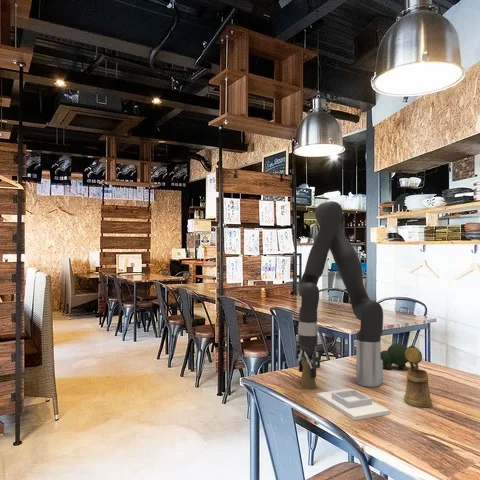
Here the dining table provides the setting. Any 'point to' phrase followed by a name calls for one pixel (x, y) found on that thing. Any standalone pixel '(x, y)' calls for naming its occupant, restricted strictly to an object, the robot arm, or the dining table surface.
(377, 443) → the dining table surface
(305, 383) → the olive tall rounded piece
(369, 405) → the board
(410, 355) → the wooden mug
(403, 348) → the toy figurine
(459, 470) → the dining table surface
